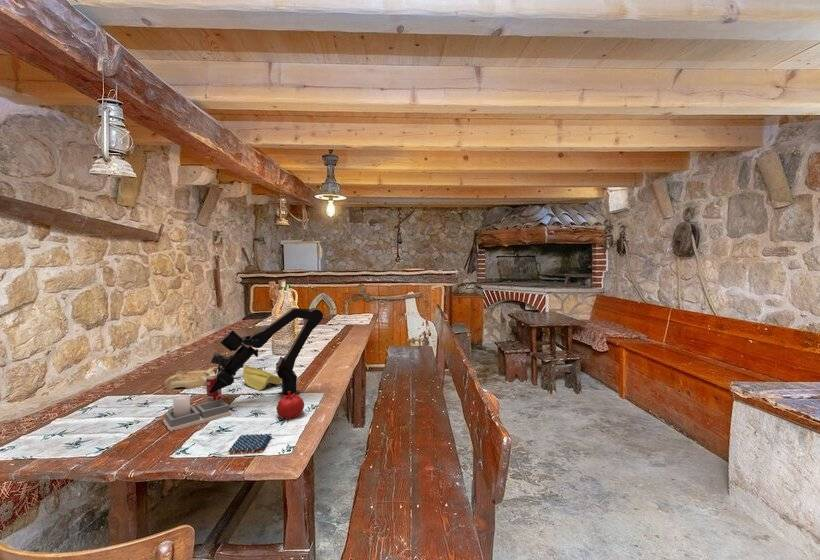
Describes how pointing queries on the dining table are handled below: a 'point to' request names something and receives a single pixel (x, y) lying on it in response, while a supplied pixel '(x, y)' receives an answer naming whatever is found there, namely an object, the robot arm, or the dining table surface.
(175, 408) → the compartment tray
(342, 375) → the dining table surface
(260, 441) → the woven mat
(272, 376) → the plastic component
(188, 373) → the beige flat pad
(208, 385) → the soda can
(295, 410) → the pomegranate
